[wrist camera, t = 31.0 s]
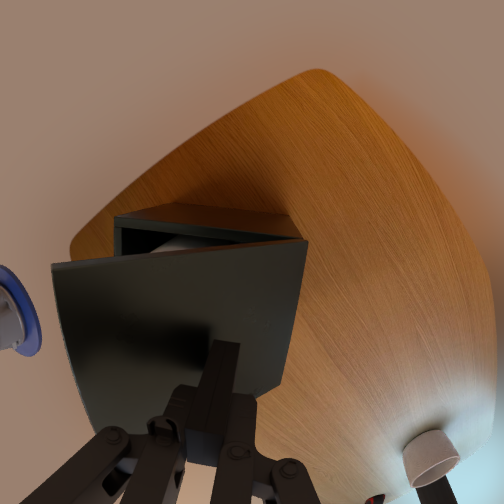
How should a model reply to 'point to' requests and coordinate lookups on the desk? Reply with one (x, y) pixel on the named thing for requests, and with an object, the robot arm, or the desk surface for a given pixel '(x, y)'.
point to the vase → (437, 492)
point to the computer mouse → (376, 500)
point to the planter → (429, 458)
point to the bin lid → (174, 323)
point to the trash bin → (197, 226)
